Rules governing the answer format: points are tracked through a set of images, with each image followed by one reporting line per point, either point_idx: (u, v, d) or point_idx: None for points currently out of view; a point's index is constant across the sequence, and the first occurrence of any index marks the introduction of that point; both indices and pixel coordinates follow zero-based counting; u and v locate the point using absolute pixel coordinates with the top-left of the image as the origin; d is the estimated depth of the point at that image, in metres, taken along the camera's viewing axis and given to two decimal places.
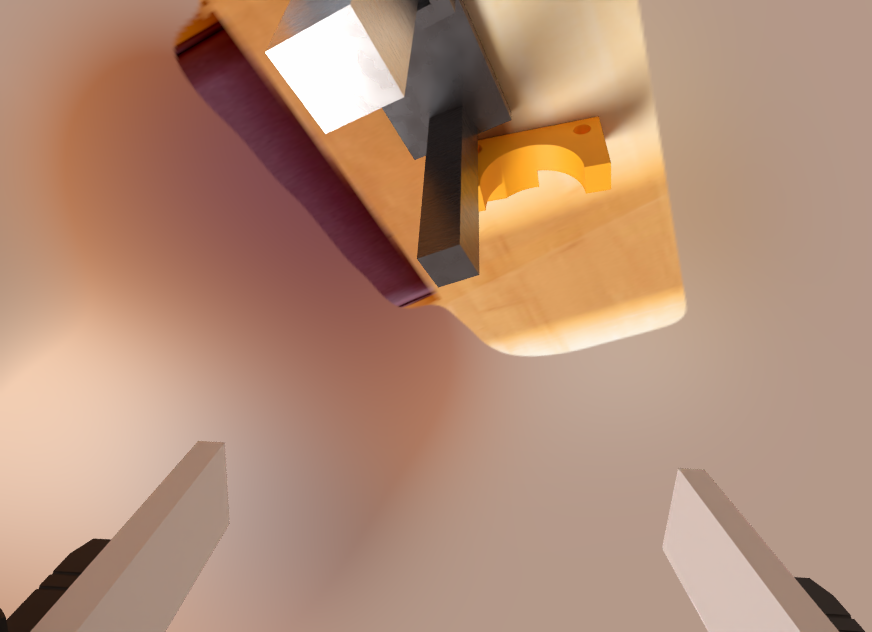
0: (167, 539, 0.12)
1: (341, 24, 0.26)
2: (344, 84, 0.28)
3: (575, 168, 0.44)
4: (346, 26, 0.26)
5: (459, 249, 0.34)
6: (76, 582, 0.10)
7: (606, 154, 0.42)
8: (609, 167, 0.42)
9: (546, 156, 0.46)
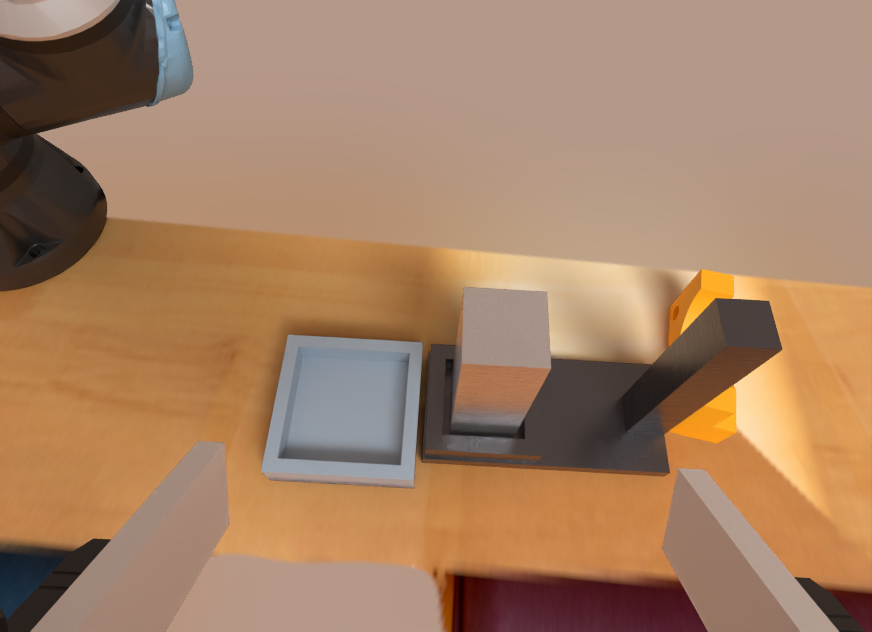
0: (167, 539, 0.12)
1: (473, 299, 0.32)
2: (515, 325, 0.32)
3: None
4: (475, 297, 0.32)
5: (723, 302, 0.30)
6: (76, 582, 0.10)
7: (695, 277, 0.46)
8: (707, 271, 0.45)
9: None
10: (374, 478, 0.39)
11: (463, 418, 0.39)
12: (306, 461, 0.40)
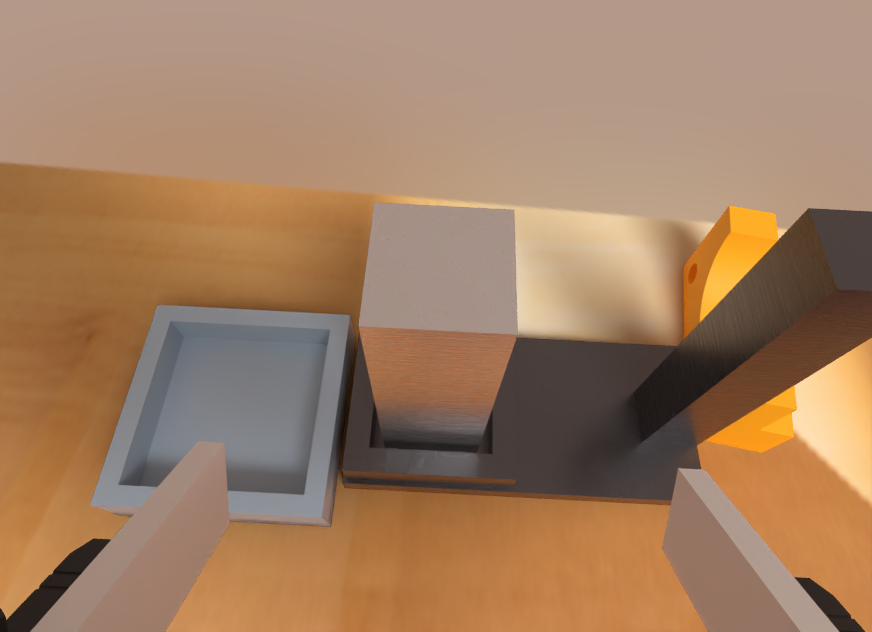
0: (168, 539, 0.12)
1: (387, 222, 0.19)
2: (458, 262, 0.18)
3: (740, 264, 0.32)
4: (392, 219, 0.19)
5: (823, 214, 0.17)
6: (76, 582, 0.10)
7: (720, 219, 0.32)
8: (737, 208, 0.31)
9: None
10: (263, 514, 0.26)
11: (396, 423, 0.26)
12: None
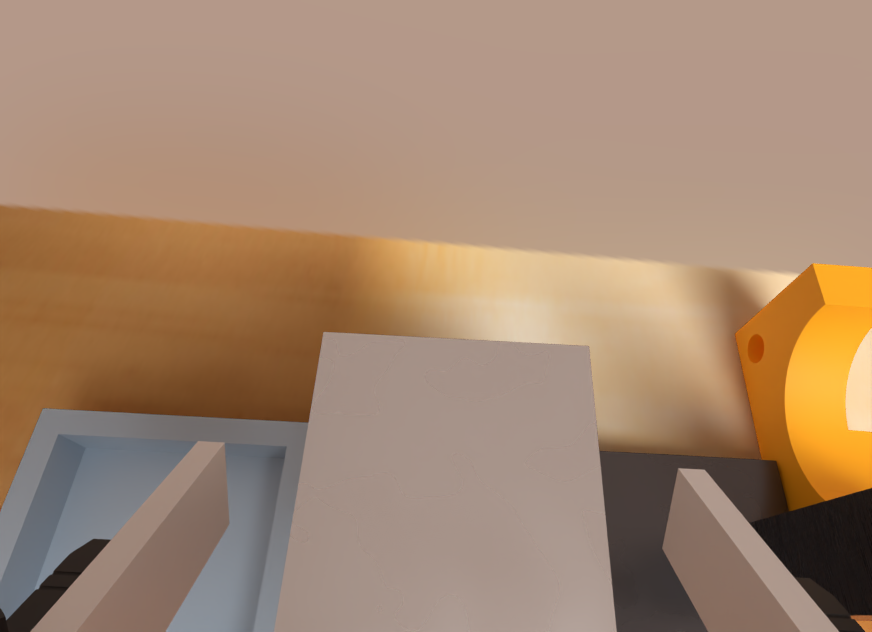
0: (168, 539, 0.12)
1: (347, 375, 0.10)
2: (486, 469, 0.09)
3: (834, 341, 0.23)
4: (356, 368, 0.10)
5: None
6: (76, 582, 0.10)
7: (797, 280, 0.23)
8: (824, 266, 0.22)
9: (812, 405, 0.23)
10: None
11: None
12: None
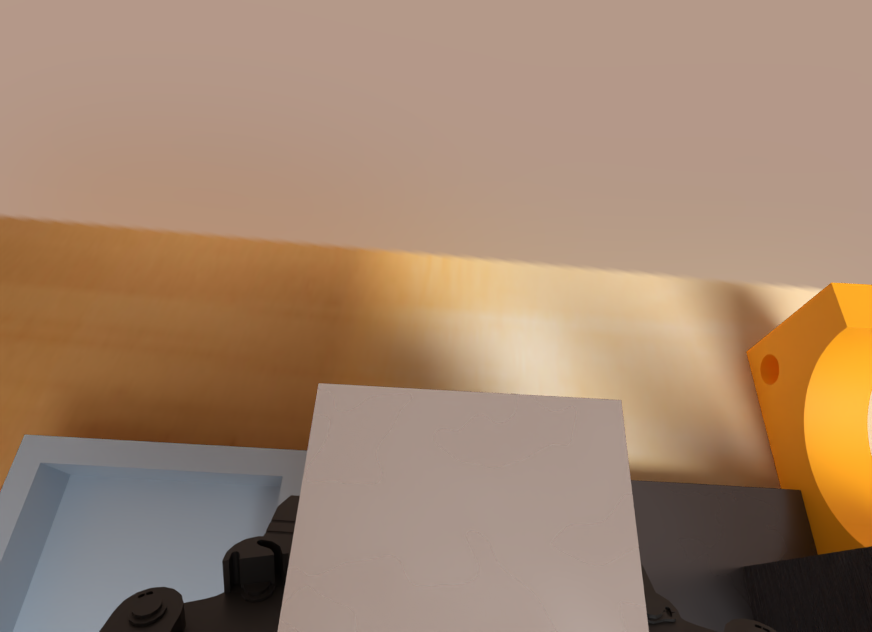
0: None
1: (345, 435, 0.09)
2: (506, 550, 0.08)
3: (855, 363, 0.22)
4: (356, 427, 0.09)
5: None
6: None
7: (815, 300, 0.22)
8: (843, 285, 0.21)
9: (833, 430, 0.22)
10: None
11: None
12: None
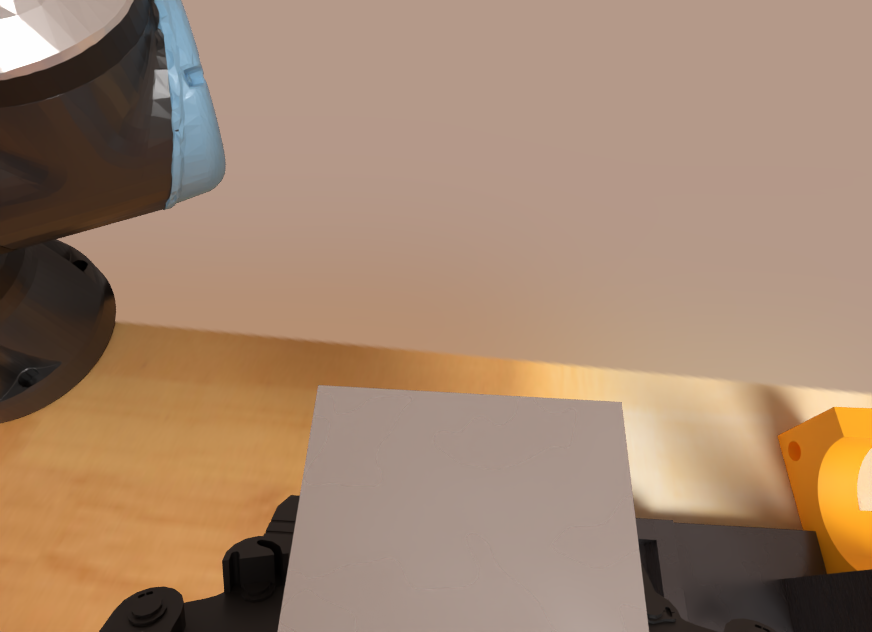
0: None
1: (345, 437, 0.09)
2: (506, 553, 0.08)
3: (849, 454, 0.35)
4: (356, 429, 0.09)
5: None
6: None
7: (824, 414, 0.36)
8: (841, 408, 0.35)
9: (835, 494, 0.36)
10: None
11: None
12: None
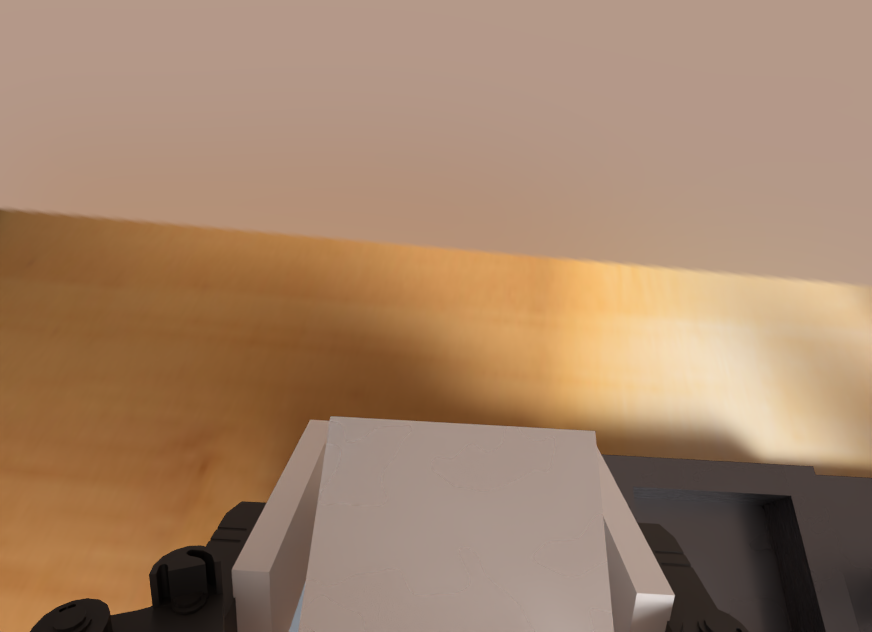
0: (308, 502, 0.14)
1: (354, 463, 0.10)
2: (493, 564, 0.09)
3: None
4: (364, 455, 0.10)
5: None
6: (253, 532, 0.12)
7: None
8: None
9: None
10: None
11: None
12: None
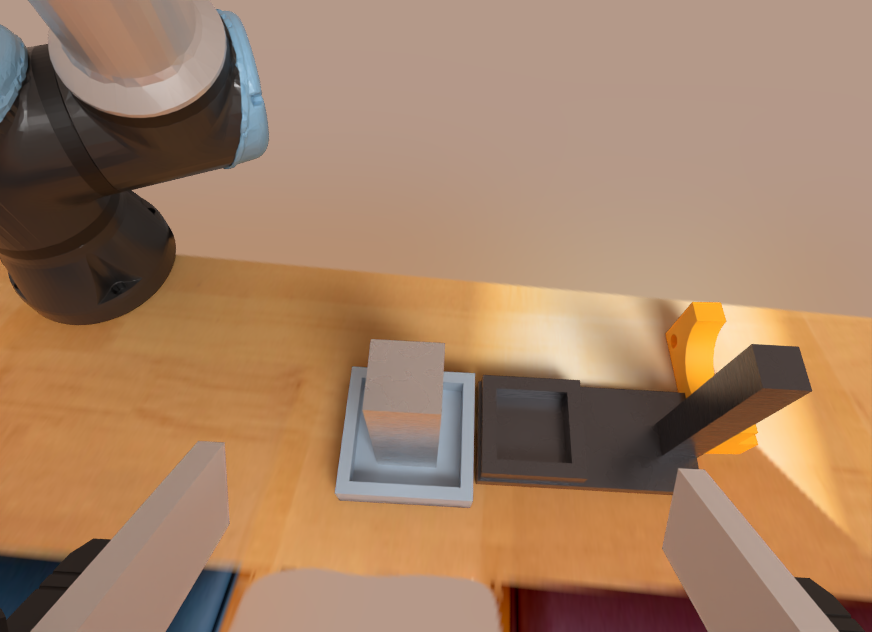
0: (167, 539, 0.12)
1: (377, 350, 0.36)
2: (414, 374, 0.36)
3: (705, 336, 0.50)
4: (380, 349, 0.36)
5: (759, 347, 0.35)
6: (76, 582, 0.10)
7: (687, 309, 0.50)
8: (697, 303, 0.49)
9: (698, 366, 0.50)
10: (437, 499, 0.44)
11: (384, 451, 0.43)
12: (375, 484, 0.44)
